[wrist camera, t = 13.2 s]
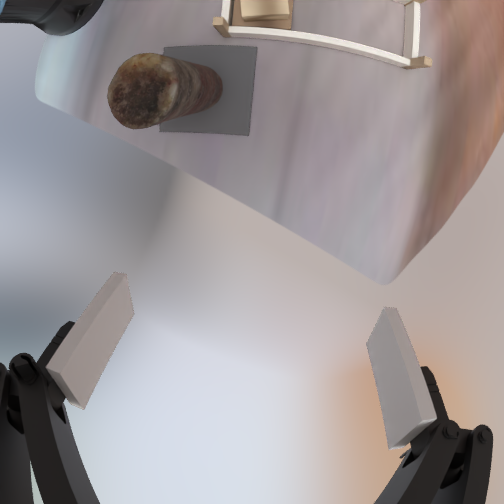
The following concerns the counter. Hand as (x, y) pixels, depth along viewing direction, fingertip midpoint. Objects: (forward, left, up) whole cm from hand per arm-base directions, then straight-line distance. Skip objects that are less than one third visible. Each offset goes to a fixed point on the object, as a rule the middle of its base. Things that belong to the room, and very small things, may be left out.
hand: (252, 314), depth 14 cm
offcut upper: (-3, +25, -31) cm, 40 cm away
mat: (-10, +11, -33) cm, 36 cm away
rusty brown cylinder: (-11, +10, -33) cm, 36 cm away
